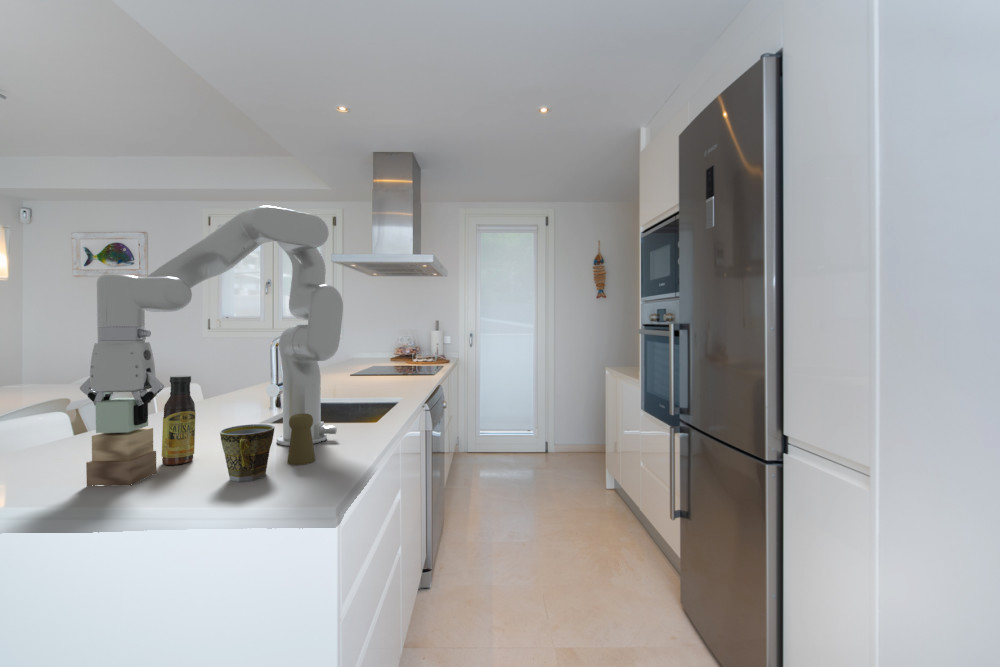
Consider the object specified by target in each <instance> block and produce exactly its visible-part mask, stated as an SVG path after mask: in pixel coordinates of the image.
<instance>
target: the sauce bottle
mask: <svg viewBox="0 0 1000 667" xmlns="http://www.w3.org/2000/svg"><path fill="white" fill-rule="evenodd" d="M191 382H192V376H191V375H170V377H169V383H170V392H169V395H170V396H169V398H168V399H167V401H166V402H165V404H164V405H163V406H164V407H163V417H162V436H161V438H162V439H161V457H162V458H161V459H162V461H161V462H162V464H163V465H165V466H173V465H174V466H175V465H183V464H186V463H190V462H192V461H193V459H194V454H195V447H196V446H195V441H196V439H195V438H196V437H195V436H196V405H195V401H194V400H193V398H192V396H191Z"/></svg>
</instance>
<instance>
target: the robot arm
mask: <svg viewBox="0 0 1000 667" xmlns="http://www.w3.org/2000/svg"><path fill="white" fill-rule="evenodd" d="M328 228H329V227H328V226H327V223H326V222H325V221H324V220H323V219H322V218H320V217H319V216H317V214H313V213H308V212H304V211H303V212H302V211H297V210H294V209H293V210H292V209H290V208H289V209H288V208H284V207H283V208H282V207H277V206H272V205H261V206H256V207H253V208H249V209H246V210H243V211H241V212H239V213H237V214H236V215H235V216H233V217H232V218H231V219H229V220H227V221H226V222H225V223H224V224H223V225H221V226H220V227H218V228H217V229H215V230H214V231H212V233H210V234H208V235H207V236H205V237H204V238H202V239H201V240H200V241H199V242H197V243H195V244H193V245H192V246H190V247H189V248H188V249H186V250H185V251H183V252H181V253H180V254H178V255H177V256H175V257H173V258H171V259H170V260H168V261H167V262H166V263H164V264H163V265H161V266H160V267H158V268H157V269H155V270H154V271H152V272H151V273H150V274H148V275H147V276H136V275H131V274H117V273H115V274H113V273H111V274H103V275H100V276H99V277H98V278H97V281H96V310H97V311H96V312H97V313H96V318H97V320H96V322H97V323H96V325H97V342H96V343H95V342H94V344H93V348H92V353H91V358H90V369H89V377H88V378H87V380H85V381H84V382H83V383H82V384H81V386H80V387H79V390H80V391H81V392H82V393H84V395H86V396H87V398H88V399H90V401H92V402H93V405H94V406H95V407H96V404H95V403H96V402H101V401H105V400H110V399H112V397H113V394H114V393H131V395H132V398H134V399H135V402H136V405H135V406H134V425H140V424H143V423H146V422H147V419H148V420H149V404H151V402H152V400H153V399H154V398H155V397H156V396H157V395H158V394H159V393H160V392H161V391H162V390H164V389H165V385H164V384H163V383H162V382H161V381H160V380H159V379H158V378H157V376H156V366H155V359H154V353H153V350H152V346H151V343H150V342H149V341H147V342H146V337H147V338H149V337H151V335H152V332H151V330H150V329H146V328H147V327H146V326H145V324H146V323H145V319H146V314H145V313H146V312H145V311H147V312H150V313H166V312H167V313H169V312H176V311H180V310H182V309H185V307H187V306H188V305H189V304H190V303H191V300H192V297H193V292H192V288H194V287H195V286H197V285H199V284H201V283H202V282H204V281H206V280H209V279H211V278H214V277H217V276H219V275H220V276H221V275H222V274H224V273H226V272H228V271H230V270H232V269H233V268H234V267H235V266H236V265H238V264H239V263H240V262H241V261H243V260H244V259H245V258H246V257H248V256H249V255H250V254H251V253H252V252H255V250H257V249H258V248H259V247H260V246H262V245H263V244H264V243H271V242H276V243H277V244H278V246H279V247H280V248H281V249H282V250H283V251H284V252H285V254H286V255H287V256H288V258H289V260H290V263H291V267H292V271H291V272H292V273H291V283H290V291H289V299H288V309H289V312H290V315H292V316H293V317H294V318H296V319H299V320H303V321H305V320H306V321H307V324H294V325H291V326H289V327H287V328H286V329H285V330H283V332H282V333H281V335H280V336H279V341H278V348H279V349H278V350H279V355H280V361H281V367H282V370H281V371H282V434H281V435H279V436H277V437H276V443H277V444H279V445H280V446H290V438H291V431H292V429H291V428H290V426H289V419H290V417H291V416H293V415H295V414H301V413H305V414H310V415H311V416H312V417H313V425H312V426H311V434H312V441H313V445H314V444H317V443H321V441H322V442H324V441H326V440H327V438H328V436H327V434H328V435H337V431H338V430H337V426H334V425H327V426H326V425H325V423H324V422H325V421H321V420H322V419H321V418H322V416H321V415H322V414H321V413H322V412H321V409H322V408H321V407H322V406H321V405H322V404H321V403H322V402H321V401H322V399H321V383H322V382H321V380H322V377H321V376H322V375H321V368H320V365H319V363H318V362H324V361H328V360H331V359H332V358H333V357H334V356H335V355H336V353H337V351H338V348H339V346H340V340H341V335H342V322H343V315H344V314H343V313H344V302H343V297H342V295H341V293H340V292H339V291H338V289H337V288H336V287H334V286H333V285H331V284H326V269H327V268H326V263H325V260H324V258H323V256H322V254H321V253H320V251H319V249H318V248H320V247H322V246H323V245H324V244H325V243H326V242H327V241H328V238H329V232H330V231H329V229H328ZM149 389H150V390H149ZM148 390H149V391H148Z"/></svg>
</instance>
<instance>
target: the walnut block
mask: <svg viewBox="0 0 1000 667" xmlns="http://www.w3.org/2000/svg"><path fill="white" fill-rule="evenodd" d="M85 464H86V466H85V467H86V468H85V469H86V473H85V474H86V487H87V486H92V485H93V486H94V487H96V486H95V485H130V486H132V485H134V483H135V484H136V482H137V483H139V482H141V481H142V479H143V480H145V479H147V478H149V477H151V476H153V475H155V474H157V451H156V450H153V452H150V453H148V454H145V455H143V456H140V457H137V458H135V459H132V460H130V461H92V460H89V461H87V462H86V463H85ZM152 474H153V475H152ZM148 476H149V477H148ZM146 477H147V478H146ZM144 478H145V479H144ZM140 480H141V481H140ZM138 481H139V482H138ZM131 484H132V485H131Z"/></svg>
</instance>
